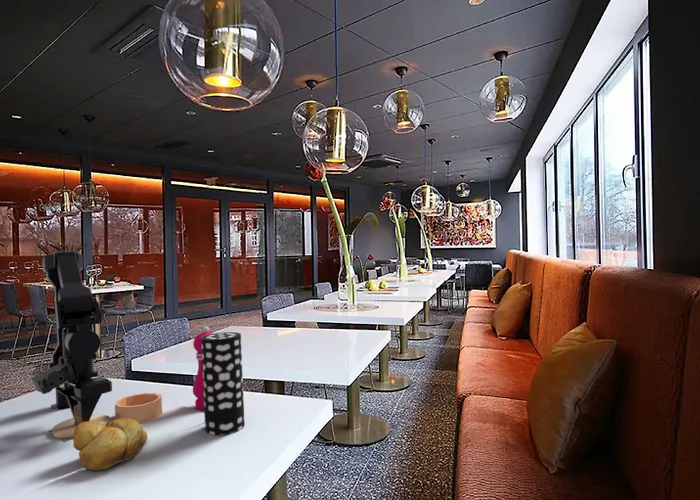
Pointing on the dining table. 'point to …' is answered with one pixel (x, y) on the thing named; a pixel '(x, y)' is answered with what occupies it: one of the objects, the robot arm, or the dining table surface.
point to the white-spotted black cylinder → (223, 383)
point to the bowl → (139, 407)
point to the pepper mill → (199, 370)
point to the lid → (75, 424)
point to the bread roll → (108, 442)
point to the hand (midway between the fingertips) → (81, 420)
